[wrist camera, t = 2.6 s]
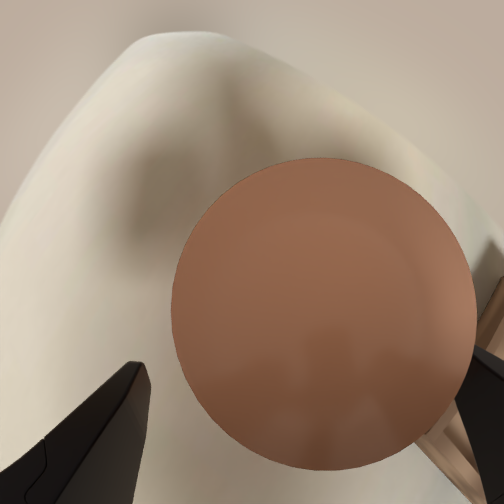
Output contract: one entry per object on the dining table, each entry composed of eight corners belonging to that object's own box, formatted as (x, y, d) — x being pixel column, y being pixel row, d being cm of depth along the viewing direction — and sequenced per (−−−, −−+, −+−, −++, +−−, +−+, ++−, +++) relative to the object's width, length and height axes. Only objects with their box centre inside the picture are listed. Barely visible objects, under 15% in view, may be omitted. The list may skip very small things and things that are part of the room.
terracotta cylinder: (352, 349, 16) (510, 302, 5) (272, 421, 15) (328, 526, 3) (282, 273, 18) (336, 119, 7) (201, 340, 16) (108, 278, 5)
